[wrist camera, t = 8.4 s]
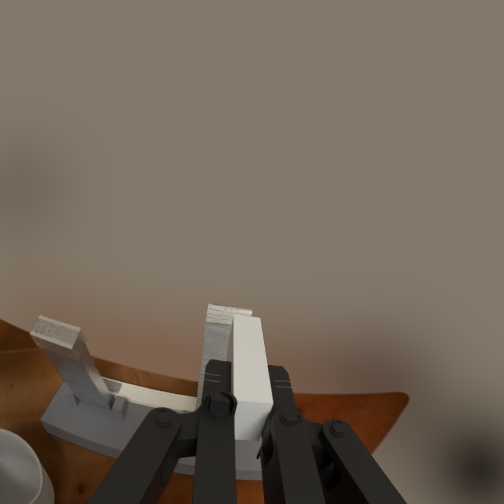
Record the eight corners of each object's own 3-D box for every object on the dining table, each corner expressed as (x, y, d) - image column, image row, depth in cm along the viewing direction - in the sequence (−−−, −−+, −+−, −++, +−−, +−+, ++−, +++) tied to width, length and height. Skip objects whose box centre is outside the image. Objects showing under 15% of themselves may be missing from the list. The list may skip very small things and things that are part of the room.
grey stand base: (46, 432, 24) (34, 408, 22) (75, 381, 35) (69, 356, 34) (263, 480, 27) (273, 461, 26) (257, 417, 39) (264, 394, 37)
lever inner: (80, 404, 28) (29, 333, 19) (84, 390, 30) (39, 314, 21) (112, 415, 29) (71, 349, 19) (116, 400, 31) (81, 327, 21)
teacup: (16, 448, 19) (-7, 411, 17) (78, 491, 18) (57, 462, 16) (-29, 505, 5) (-65, 474, 3) (36, 563, 5) (0, 547, 2)
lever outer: (193, 432, 29) (208, 304, 31) (194, 423, 32) (209, 302, 34) (233, 436, 30) (252, 310, 32) (231, 428, 32) (249, 308, 34)
